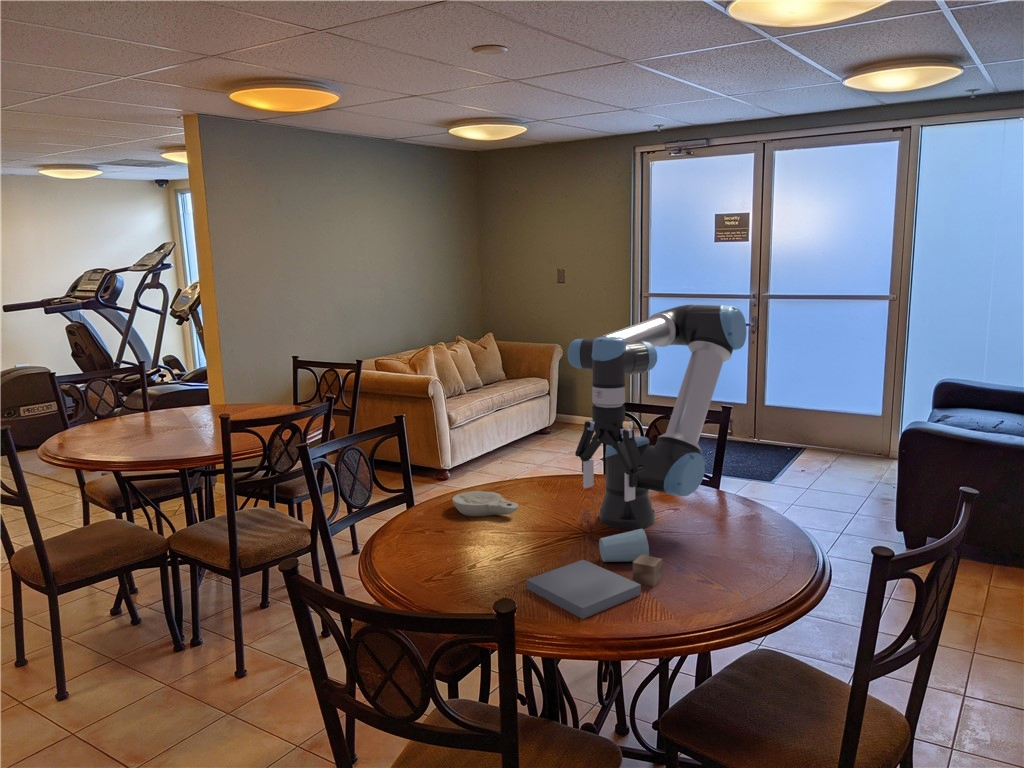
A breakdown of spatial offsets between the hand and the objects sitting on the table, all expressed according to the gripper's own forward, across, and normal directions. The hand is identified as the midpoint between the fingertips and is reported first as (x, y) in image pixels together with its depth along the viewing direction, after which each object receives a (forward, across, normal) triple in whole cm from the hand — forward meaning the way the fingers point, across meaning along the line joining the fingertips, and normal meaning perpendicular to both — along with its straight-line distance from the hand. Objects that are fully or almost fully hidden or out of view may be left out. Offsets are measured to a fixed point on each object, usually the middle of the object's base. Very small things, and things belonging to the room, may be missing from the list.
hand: (608, 493), depth 173 cm
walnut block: (+17, +13, -1) cm, 22 cm away
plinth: (+17, +8, -16) cm, 25 cm away
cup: (+18, 0, 0) cm, 18 cm away
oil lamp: (+17, -47, -2) cm, 50 cm away
